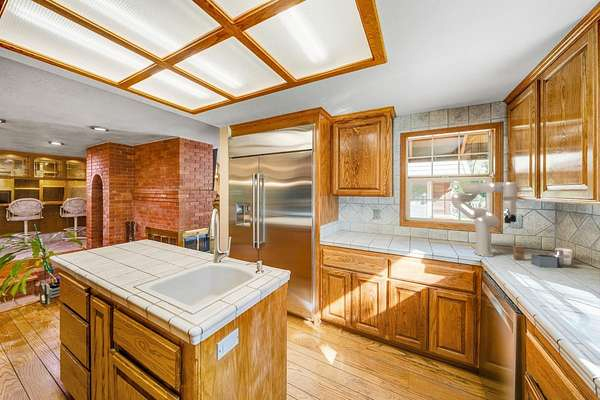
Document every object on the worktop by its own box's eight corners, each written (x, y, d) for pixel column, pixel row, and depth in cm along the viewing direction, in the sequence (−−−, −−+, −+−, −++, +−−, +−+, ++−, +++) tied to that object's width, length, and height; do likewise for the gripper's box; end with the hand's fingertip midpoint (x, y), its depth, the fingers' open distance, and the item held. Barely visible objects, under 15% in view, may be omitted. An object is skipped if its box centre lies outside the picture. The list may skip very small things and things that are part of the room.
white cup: (561, 264, 154) (561, 250, 153) (551, 261, 161) (551, 247, 161) (576, 265, 152) (576, 250, 152) (565, 261, 160) (565, 248, 159)
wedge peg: (513, 259, 169) (513, 246, 169) (521, 259, 168) (521, 246, 168) (516, 260, 166) (516, 247, 166) (524, 260, 165) (524, 247, 165)
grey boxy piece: (530, 263, 158) (530, 248, 158) (561, 264, 154) (561, 248, 154) (540, 267, 150) (540, 251, 149) (574, 269, 145) (574, 252, 145)
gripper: (508, 198, 169) (508, 221, 169) (498, 199, 160) (498, 223, 161) (521, 198, 162) (521, 222, 163) (512, 199, 154) (512, 224, 154)
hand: (510, 222), depth 162 cm, fingers open, 9 cm apart
